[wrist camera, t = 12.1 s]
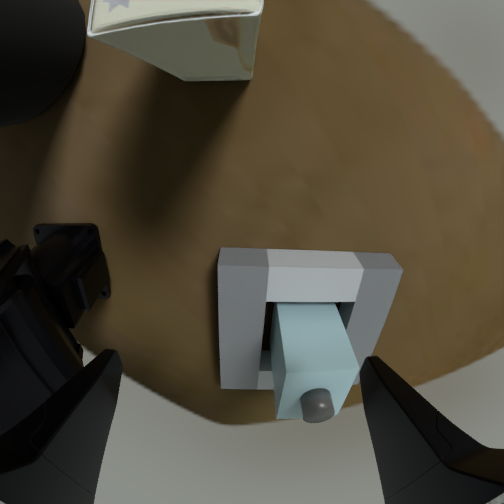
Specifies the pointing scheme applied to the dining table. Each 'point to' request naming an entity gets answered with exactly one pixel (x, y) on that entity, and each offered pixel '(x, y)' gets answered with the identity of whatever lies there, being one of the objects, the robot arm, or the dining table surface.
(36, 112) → the coffee jar
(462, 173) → the dining table surface
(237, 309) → the socket block
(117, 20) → the skincare box
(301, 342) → the plug
